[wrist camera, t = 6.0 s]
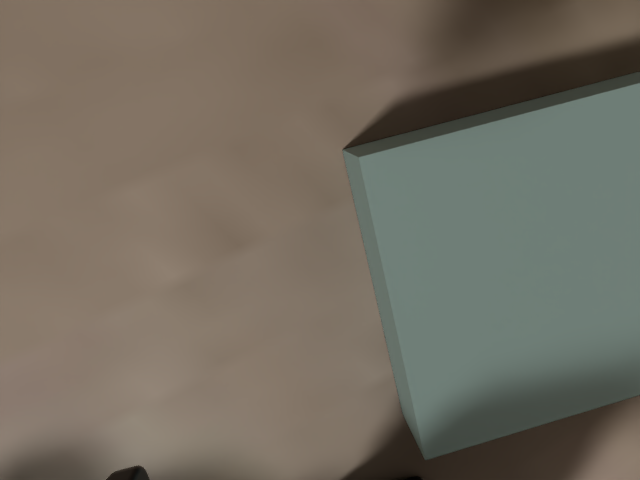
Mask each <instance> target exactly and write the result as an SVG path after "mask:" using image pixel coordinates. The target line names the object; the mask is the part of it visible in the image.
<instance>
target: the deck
mask: <svg viewBox="0 0 640 480" xmlns="http://www.w3.org/2000/svg"><path fill="white" fill-rule="evenodd" d="M343 155H344V159H345V163H346V168H347V172H348V177H349V181H350V185H351V190H352V194H353V198H354V203H355V207H356V212H357V216H358V220H359V225H360V229H361V234H362V238H363V242H364V247H365V251H366V255H367V260H368V264H369V269H370V273H371V277H372V282H373V286H374V290H375V295H376V299H377V304H378V308H379V312H380V317H381V321H382V325H383V330H384V334H385V339H386V343H387V347H388V352H389V356H390V360H391V365H392V369H393V374H394V378H395V382H396V387H397V391H398V396H399V400H400V404H401V409H402V413H403V416H404V418H405V420H406V422H407V424H408V426H409V428H410V430H411V432H412V434H413V436H414V438H415V440H416V443H417V445H418V447H419V449H420V451H421V453H422V455H423V457H424V459H425V460H428V459H431V458H435V457H438V456H441V455H445V454H448V453H451V452H454V451H458V450H461V449H464V448H468V447H471V446H474V445H477V444H481V443H484V442H487V441H491V440H494V439H497V438H500V437H504V436H507V435H510V434H514V433H517V432H520V431H523V430H527V429H530V428H533V427H537V426H540V425H543V424H546V423H550V422H553V421H556V420H560V419H563V418H566V417H569V416H573V415H576V414H579V413H583V412H586V411H589V410H592V409H596V408H599V407H602V406H606V405H609V404H612V403H615V402H619V401H622V400H625V399H629V398H632V397H635V396H638V395H640V72H636V73H632V74H628V75H624V76H621V77H617V78H613V79H609V80H605V81H602V82H598V83H594V84H590V85H586V86H583V87H579V88H575V89H571V90H567V91H564V92H560V93H556V94H552V95H548V96H545V97H541V98H537V99H533V100H529V101H526V102H522V103H518V104H514V105H510V106H507V107H503V108H499V109H495V110H491V111H488V112H484V113H480V114H476V115H472V116H468V117H465V118H461V119H457V120H453V121H449V122H446V123H442V124H438V125H434V126H430V127H427V128H423V129H419V130H415V131H411V132H408V133H404V134H400V135H396V136H392V137H389V138H385V139H381V140H377V141H373V142H370V143H366V144H362V145H358V146H354V147H351V148H347V149H343Z"/></svg>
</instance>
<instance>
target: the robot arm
mask: <svg viewBox="0 0 640 480" xmlns="http://www.w3.org/2000/svg"><path fill="white" fill-rule="evenodd" d="M106 480H150V479H149V477H148V474H147V472H146V470H145V469H144V468H143V467H141V466H134V467H130V468H126V469H123V470H119V471H116V472H114V473H112V474H111V475H110V476H109V477H108V478H107V479H106ZM404 480H423V479H422V478H420V477H411V478H408V479H404Z"/></svg>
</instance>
